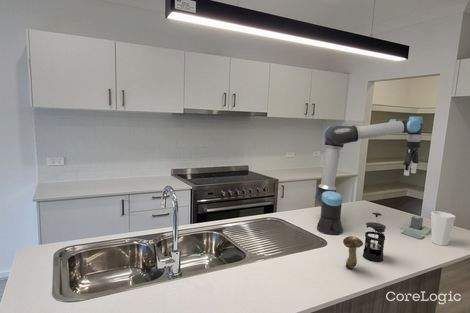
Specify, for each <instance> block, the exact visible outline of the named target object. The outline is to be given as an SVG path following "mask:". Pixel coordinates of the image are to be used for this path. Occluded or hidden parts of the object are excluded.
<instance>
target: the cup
mask: <svg viewBox="0 0 470 313" xmlns="http://www.w3.org/2000/svg"><path fill="white" fill-rule="evenodd" d="M430 220H431V222H430V223H431V224H430V226H431V227H430V228H431V230H432V231H431V242H432V243H433V244H435V245H438V246H441V247H446V246H448V244H449V242H450V238H451V233H452V231H453V226H454V224H455V220H456V215H454V214H453V213H450V212H446V211H439V210H438V211H430Z"/></svg>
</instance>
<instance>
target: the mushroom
mask: <svg viewBox="0 0 470 313" xmlns="http://www.w3.org/2000/svg"><path fill="white" fill-rule="evenodd" d="M342 242H343V245H344V246H345V247H346V248H348V257H347V259H346V260H345V268H347V269H349V270H353V269H354V268H355V267H356V266H357V265H358V259H357V249H358V248H361V247H363V246H364V242H363V240H361V238H359V237H357V236H353V235H349V236H346V237H345V238H343V239H342Z"/></svg>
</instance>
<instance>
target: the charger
mask: <svg viewBox="0 0 470 313" xmlns="http://www.w3.org/2000/svg"><path fill="white" fill-rule="evenodd" d="M423 221H424V217H420V216H415V215H413V216H411V219H410V223H411V227H410V228H414V229H418V230H422V226H423Z"/></svg>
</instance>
